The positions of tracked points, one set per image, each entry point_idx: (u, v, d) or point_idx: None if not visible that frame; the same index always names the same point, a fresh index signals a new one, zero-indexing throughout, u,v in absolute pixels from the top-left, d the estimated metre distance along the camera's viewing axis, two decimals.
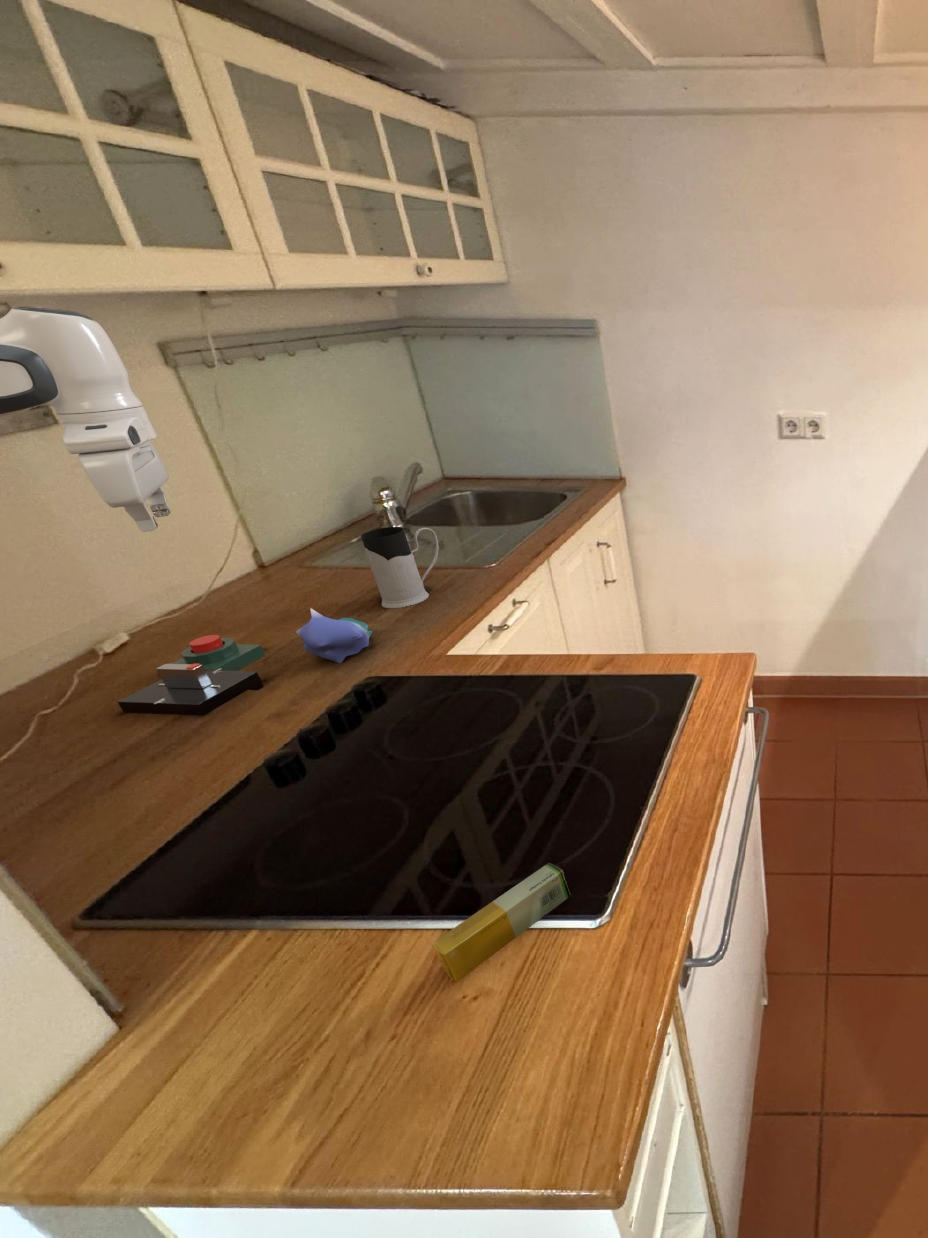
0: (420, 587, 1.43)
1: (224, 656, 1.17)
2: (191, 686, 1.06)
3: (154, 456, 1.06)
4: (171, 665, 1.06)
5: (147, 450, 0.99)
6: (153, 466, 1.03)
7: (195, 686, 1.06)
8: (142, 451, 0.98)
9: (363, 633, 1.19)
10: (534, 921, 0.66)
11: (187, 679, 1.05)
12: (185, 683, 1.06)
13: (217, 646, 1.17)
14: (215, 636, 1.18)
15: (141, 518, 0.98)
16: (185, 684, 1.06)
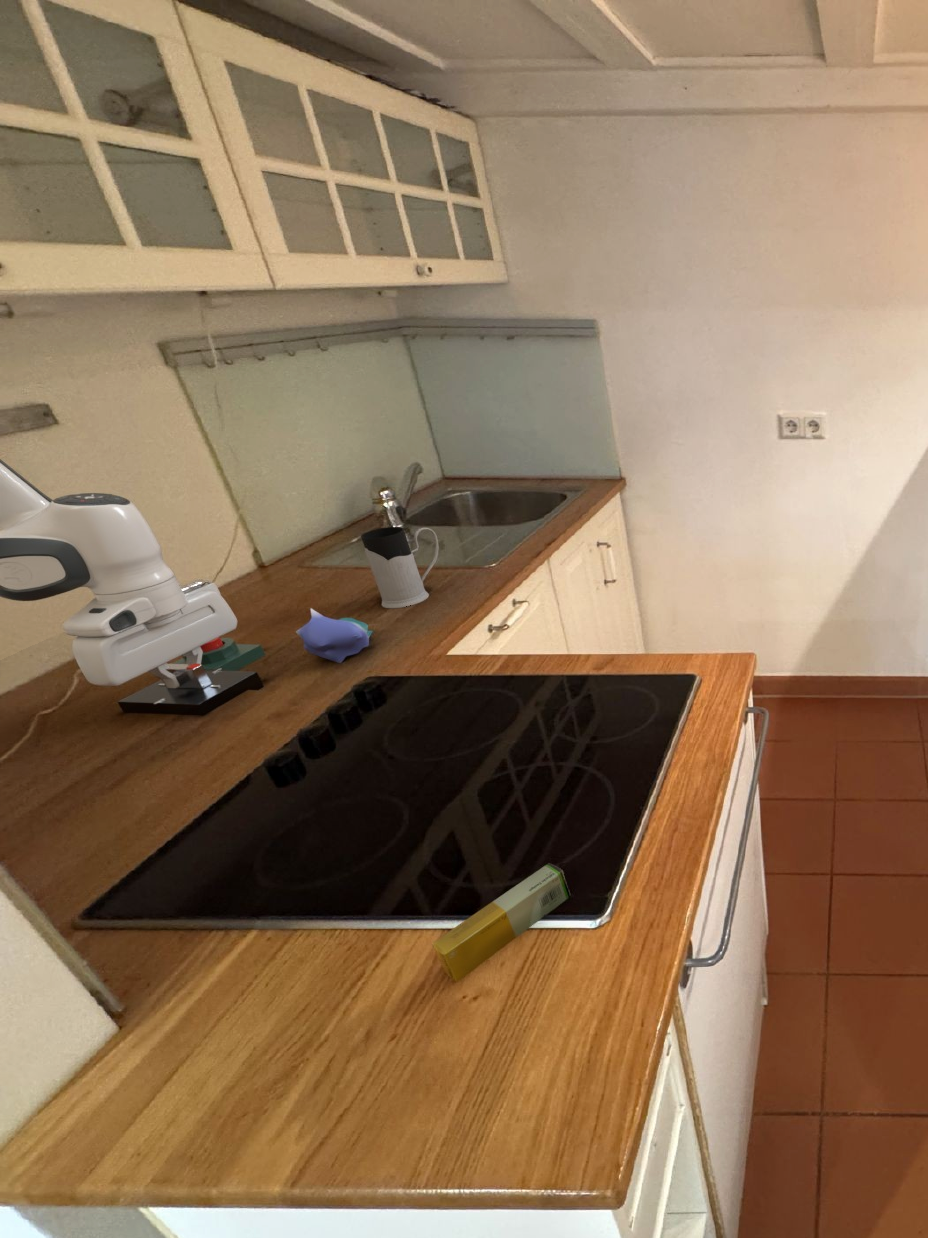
0: (420, 587, 1.43)
1: (224, 656, 1.17)
2: (191, 686, 1.06)
3: (214, 612, 1.09)
4: (171, 665, 1.06)
5: (164, 623, 1.01)
6: (196, 627, 1.06)
7: (195, 686, 1.06)
8: (156, 625, 1.00)
9: (363, 633, 1.19)
10: (534, 921, 0.66)
11: (187, 679, 1.05)
12: (185, 683, 1.06)
13: (217, 646, 1.17)
14: None
15: (164, 677, 1.03)
16: (185, 684, 1.06)
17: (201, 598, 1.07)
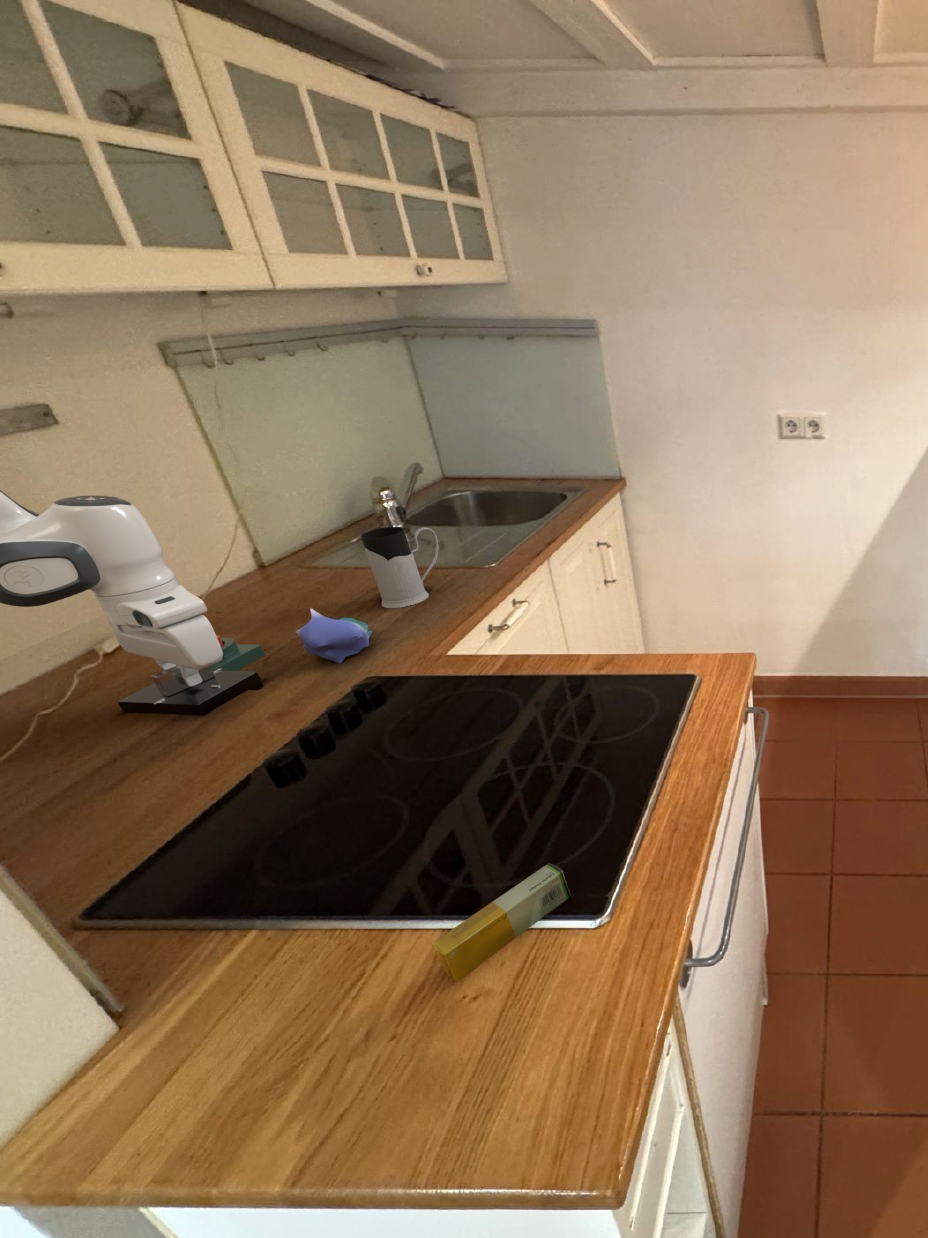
0: (420, 587, 1.43)
1: (224, 656, 1.17)
2: None
3: None
4: (165, 671, 1.04)
5: None
6: None
7: (207, 677, 1.08)
8: None
9: (363, 633, 1.19)
10: (534, 921, 0.66)
11: (198, 672, 1.07)
12: None
13: None
14: None
15: (191, 673, 1.05)
16: None
17: None
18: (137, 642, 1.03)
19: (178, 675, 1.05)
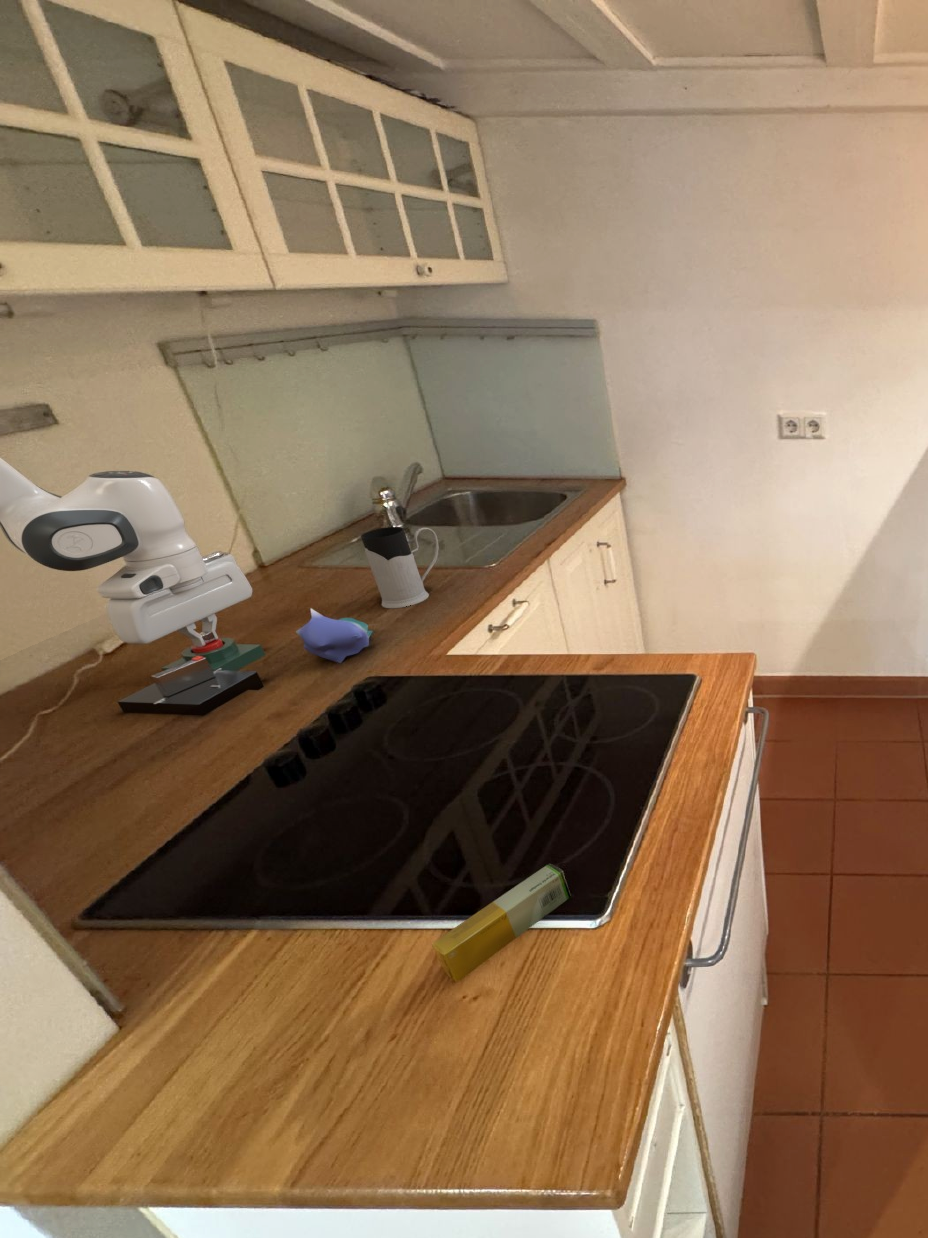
0: (420, 587, 1.43)
1: (224, 656, 1.17)
2: (201, 679, 1.08)
3: (231, 581, 1.19)
4: (165, 671, 1.04)
5: (187, 588, 1.11)
6: (215, 594, 1.17)
7: (207, 677, 1.08)
8: (180, 590, 1.10)
9: (363, 633, 1.19)
10: (534, 922, 0.66)
11: (198, 672, 1.07)
12: (194, 679, 1.07)
13: None
14: (217, 639, 1.18)
15: (191, 637, 1.15)
16: (194, 680, 1.07)
17: (219, 567, 1.17)
18: None
19: (178, 675, 1.05)
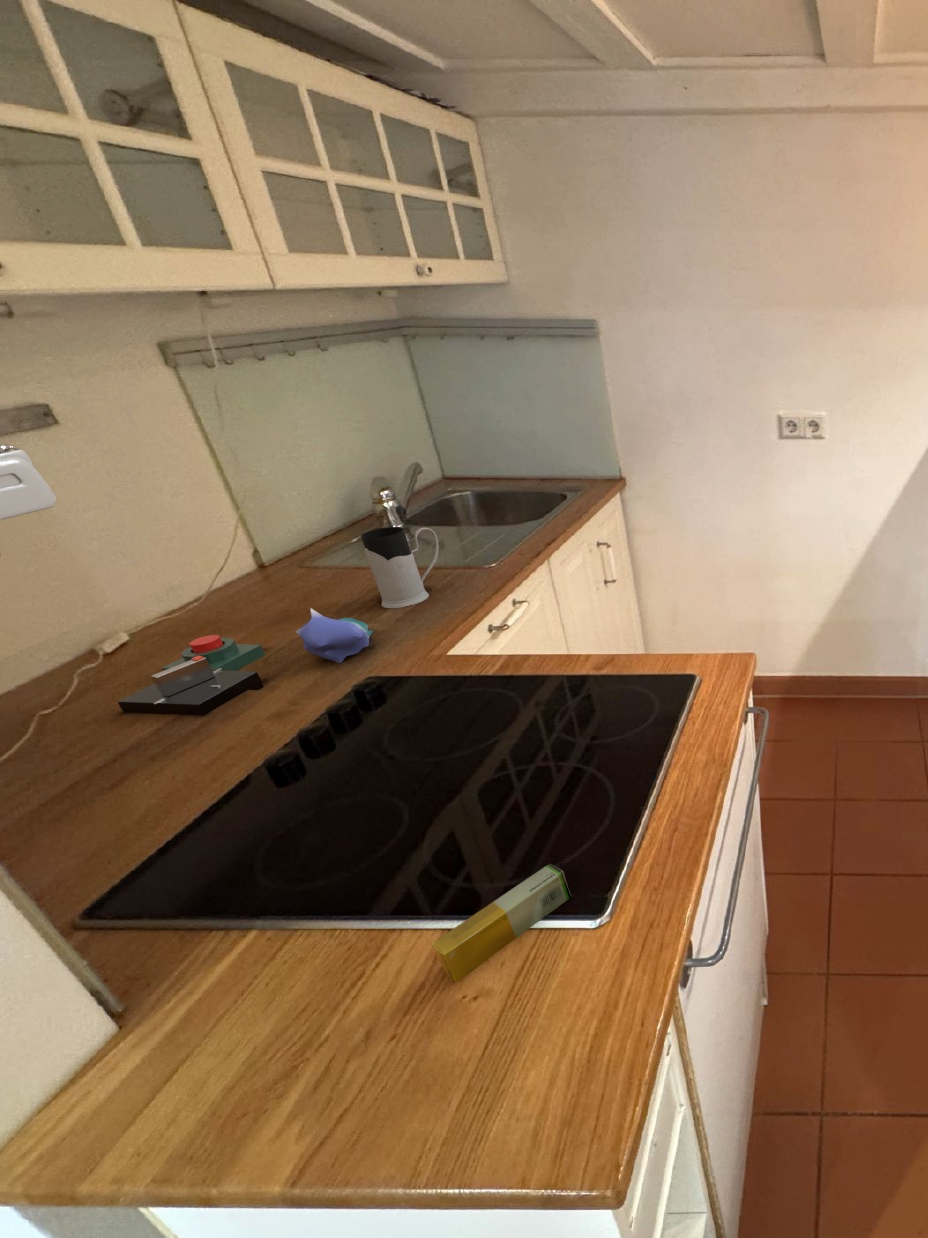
0: (420, 587, 1.43)
1: (224, 656, 1.17)
2: (201, 679, 1.08)
3: (21, 482, 0.93)
4: (165, 671, 1.04)
5: None
6: None
7: (207, 677, 1.08)
8: None
9: (363, 633, 1.19)
10: (534, 922, 0.66)
11: (198, 672, 1.07)
12: (194, 679, 1.07)
13: (217, 646, 1.17)
14: (215, 636, 1.18)
15: None
16: (194, 680, 1.07)
17: (1, 463, 0.91)
18: None
19: (178, 675, 1.05)
